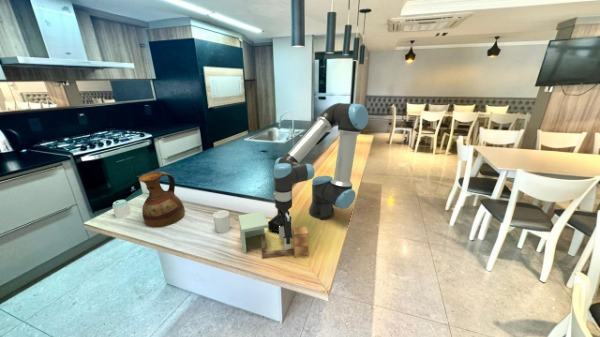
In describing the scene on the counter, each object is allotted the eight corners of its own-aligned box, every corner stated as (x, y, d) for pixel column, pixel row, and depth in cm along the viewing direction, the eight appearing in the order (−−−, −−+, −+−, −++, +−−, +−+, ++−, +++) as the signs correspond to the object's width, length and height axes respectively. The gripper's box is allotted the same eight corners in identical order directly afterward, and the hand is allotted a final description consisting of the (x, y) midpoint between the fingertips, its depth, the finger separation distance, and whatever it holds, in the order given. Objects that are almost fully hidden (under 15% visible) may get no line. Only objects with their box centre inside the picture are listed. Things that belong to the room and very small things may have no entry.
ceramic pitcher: (138, 226, 127) (124, 175, 117) (172, 210, 143) (162, 164, 134) (159, 235, 118) (147, 181, 108) (193, 217, 135) (184, 169, 125)
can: (117, 225, 127) (111, 205, 124) (116, 220, 133) (111, 201, 129) (132, 220, 132) (127, 202, 128) (131, 216, 137) (126, 197, 133)
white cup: (225, 225, 127) (223, 208, 124) (234, 230, 122) (232, 213, 119) (212, 231, 121) (210, 214, 118) (220, 236, 116) (218, 219, 113)
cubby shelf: (264, 232, 120) (262, 211, 116) (269, 247, 108) (268, 224, 104) (240, 237, 116) (238, 215, 112) (243, 253, 104) (241, 229, 100)
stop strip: (288, 230, 121) (288, 227, 121) (292, 237, 115) (292, 234, 115) (286, 230, 121) (286, 227, 120) (290, 238, 115) (290, 234, 114)
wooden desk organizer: (303, 239, 114) (303, 218, 110) (308, 256, 102) (308, 232, 99) (262, 243, 111) (260, 221, 107) (262, 261, 99) (260, 237, 96)
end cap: (277, 222, 129) (277, 211, 127) (288, 225, 126) (288, 214, 124) (267, 231, 121) (266, 220, 119) (278, 235, 118) (277, 223, 116)
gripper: (269, 191, 109) (271, 233, 115) (281, 210, 90) (283, 259, 96) (284, 189, 111) (285, 230, 118) (299, 207, 92) (300, 255, 99)
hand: (284, 243), depth 107 cm, fingers open, 8 cm apart
